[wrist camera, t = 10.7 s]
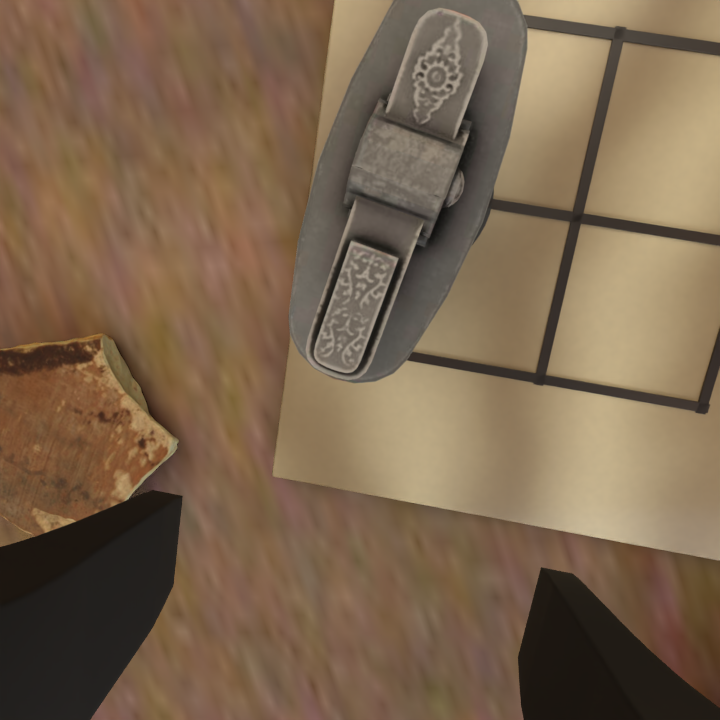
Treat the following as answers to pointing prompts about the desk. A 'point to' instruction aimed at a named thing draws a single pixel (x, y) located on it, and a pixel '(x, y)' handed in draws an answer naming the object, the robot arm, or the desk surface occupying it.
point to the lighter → (404, 182)
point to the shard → (72, 432)
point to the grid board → (558, 299)
